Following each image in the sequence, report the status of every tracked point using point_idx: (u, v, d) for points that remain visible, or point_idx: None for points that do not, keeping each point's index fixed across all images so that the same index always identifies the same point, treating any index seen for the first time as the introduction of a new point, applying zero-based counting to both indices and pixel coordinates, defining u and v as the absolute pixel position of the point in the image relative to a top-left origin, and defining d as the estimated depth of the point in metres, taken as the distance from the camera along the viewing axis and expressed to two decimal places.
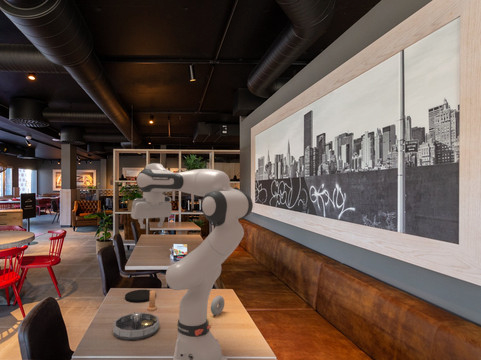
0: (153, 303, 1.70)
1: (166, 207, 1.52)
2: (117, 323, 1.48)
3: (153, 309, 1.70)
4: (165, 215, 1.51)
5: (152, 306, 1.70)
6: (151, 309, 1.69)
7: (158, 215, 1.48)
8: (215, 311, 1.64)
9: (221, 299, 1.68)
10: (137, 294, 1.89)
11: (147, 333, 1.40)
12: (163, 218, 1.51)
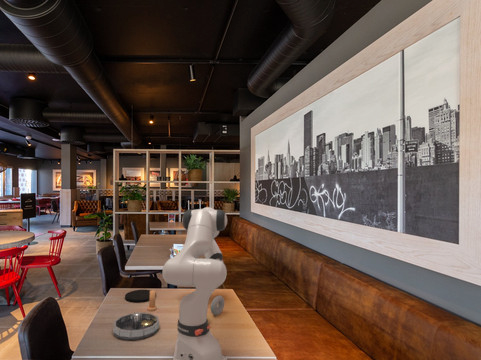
0: (153, 303, 1.70)
1: None
2: (117, 323, 1.48)
3: (153, 309, 1.70)
4: None
5: (152, 306, 1.70)
6: (151, 309, 1.69)
7: None
8: (215, 311, 1.64)
9: (221, 299, 1.68)
10: (137, 294, 1.89)
11: (147, 333, 1.40)
12: None
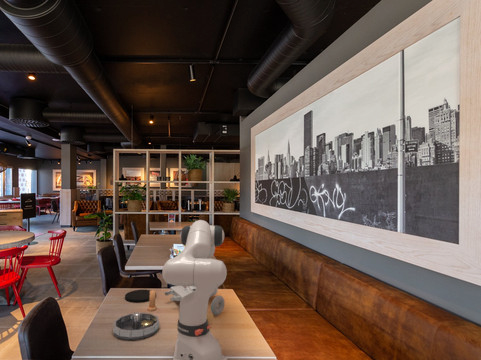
0: (153, 303, 1.70)
1: None
2: (117, 323, 1.48)
3: (153, 309, 1.70)
4: (181, 295, 1.74)
5: (152, 306, 1.70)
6: (151, 309, 1.69)
7: (179, 292, 1.77)
8: (215, 311, 1.64)
9: (221, 299, 1.68)
10: (137, 294, 1.89)
11: (147, 333, 1.40)
12: (178, 296, 1.73)
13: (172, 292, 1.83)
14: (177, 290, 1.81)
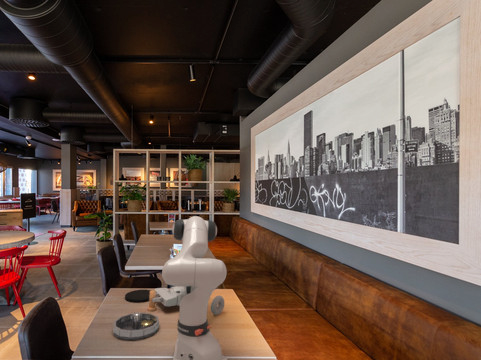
0: (153, 303, 1.70)
1: (171, 296, 1.70)
2: (117, 323, 1.48)
3: (153, 309, 1.70)
4: (164, 297, 1.69)
5: (152, 306, 1.70)
6: (151, 309, 1.69)
7: (162, 295, 1.72)
8: (215, 311, 1.64)
9: (221, 299, 1.68)
10: (137, 294, 1.89)
11: (147, 333, 1.40)
12: (160, 297, 1.70)
13: (157, 296, 1.76)
14: (160, 292, 1.76)
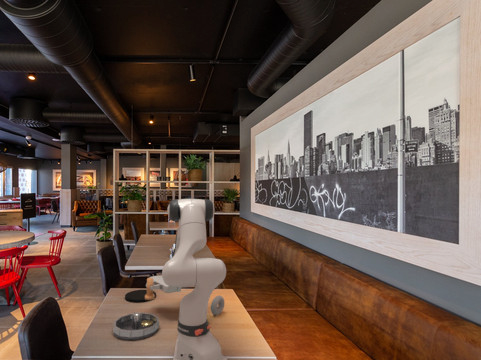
0: (151, 291, 1.60)
1: None
2: (117, 323, 1.48)
3: (152, 297, 1.59)
4: (164, 284, 1.59)
5: (150, 294, 1.60)
6: (150, 297, 1.59)
7: (160, 282, 1.62)
8: (215, 311, 1.64)
9: (221, 299, 1.68)
10: (137, 294, 1.89)
11: (147, 333, 1.40)
12: (158, 284, 1.61)
13: (154, 283, 1.65)
14: (157, 280, 1.66)
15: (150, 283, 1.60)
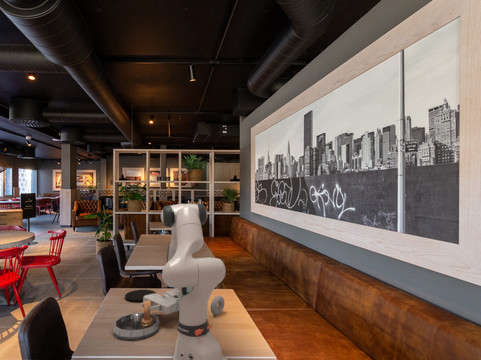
0: (149, 315, 1.51)
1: (170, 302, 1.54)
2: (117, 323, 1.48)
3: (149, 322, 1.50)
4: (163, 304, 1.51)
5: (148, 319, 1.50)
6: (148, 322, 1.50)
7: (158, 301, 1.54)
8: (215, 311, 1.64)
9: (221, 299, 1.68)
10: (137, 294, 1.89)
11: (147, 333, 1.40)
12: (158, 305, 1.51)
13: None
14: (154, 299, 1.57)
15: (148, 307, 1.50)
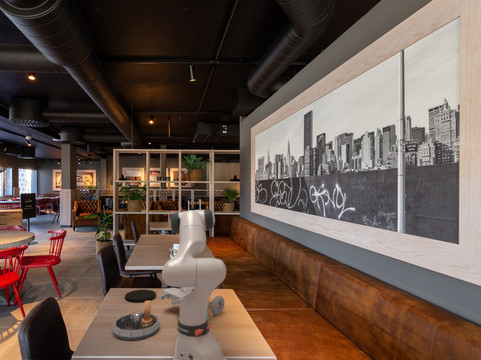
0: (149, 315, 1.51)
1: None
2: (117, 323, 1.48)
3: (149, 322, 1.50)
4: (183, 297, 1.61)
5: (148, 319, 1.51)
6: (148, 322, 1.50)
7: (178, 295, 1.64)
8: (215, 311, 1.64)
9: (221, 299, 1.68)
10: (137, 294, 1.89)
11: (147, 333, 1.40)
12: (180, 299, 1.60)
13: (167, 295, 1.67)
14: (174, 293, 1.66)
15: (148, 306, 1.50)
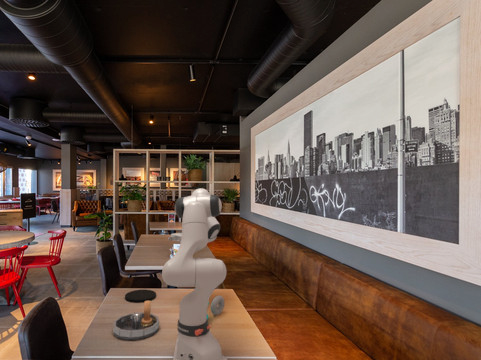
0: (149, 315, 1.51)
1: None
2: (117, 323, 1.48)
3: (149, 322, 1.50)
4: None
5: (148, 319, 1.51)
6: (148, 322, 1.50)
7: None
8: (215, 311, 1.64)
9: (221, 299, 1.68)
10: (137, 294, 1.89)
11: (147, 333, 1.40)
12: None
13: (175, 238, 1.79)
14: (181, 235, 1.78)
15: (148, 307, 1.50)
